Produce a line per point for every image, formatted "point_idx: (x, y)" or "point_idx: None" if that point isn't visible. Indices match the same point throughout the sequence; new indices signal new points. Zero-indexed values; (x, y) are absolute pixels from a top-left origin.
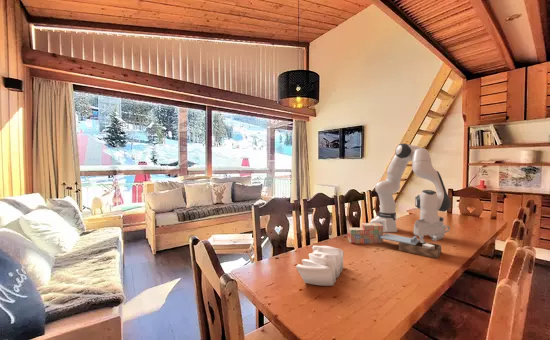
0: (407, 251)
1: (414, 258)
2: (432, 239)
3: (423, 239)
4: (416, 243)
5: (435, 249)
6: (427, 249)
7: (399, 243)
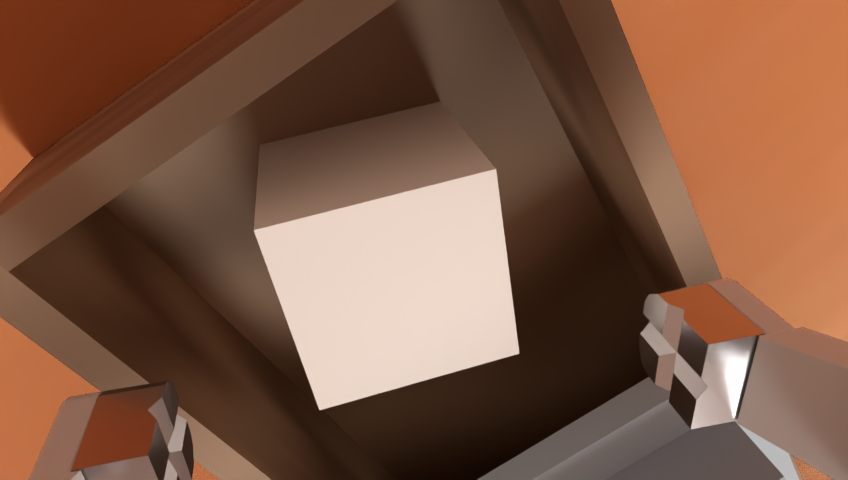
0: None
1: (811, 64)
2: (188, 463)
3: (792, 346)
4: (610, 410)
5: (129, 261)
6: (637, 86)
7: (798, 477)
